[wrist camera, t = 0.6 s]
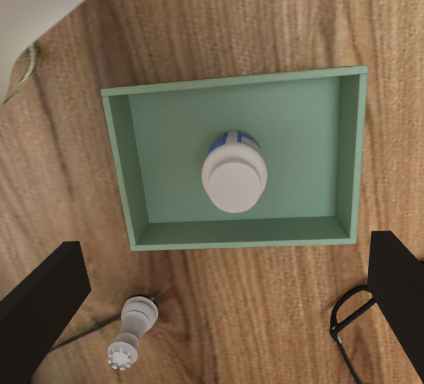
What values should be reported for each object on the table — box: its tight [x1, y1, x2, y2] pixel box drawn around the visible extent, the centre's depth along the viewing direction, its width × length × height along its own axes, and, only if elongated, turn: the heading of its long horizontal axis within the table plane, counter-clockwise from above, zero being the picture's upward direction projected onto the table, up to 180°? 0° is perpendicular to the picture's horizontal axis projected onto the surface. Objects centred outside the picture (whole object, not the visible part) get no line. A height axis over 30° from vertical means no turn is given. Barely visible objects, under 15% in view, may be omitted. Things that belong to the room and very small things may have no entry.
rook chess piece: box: [108, 296, 158, 370], centre depth 38 cm, size 4×4×8 cm
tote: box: [101, 65, 368, 251], centre depth 31 cm, size 15×21×6 cm
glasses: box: [330, 261, 424, 384], centre depth 37 cm, size 17×18×5 cm
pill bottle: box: [202, 131, 267, 213], centre depth 29 cm, size 6×5×10 cm
